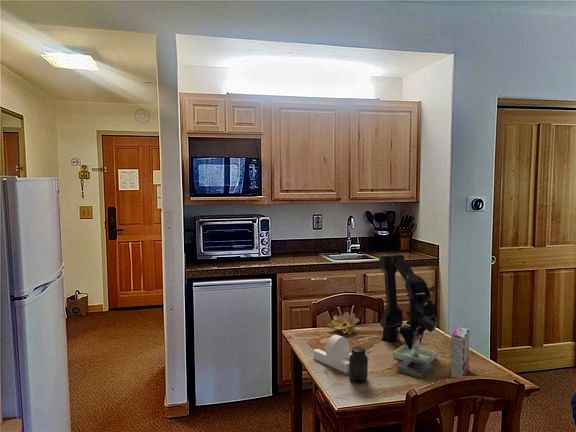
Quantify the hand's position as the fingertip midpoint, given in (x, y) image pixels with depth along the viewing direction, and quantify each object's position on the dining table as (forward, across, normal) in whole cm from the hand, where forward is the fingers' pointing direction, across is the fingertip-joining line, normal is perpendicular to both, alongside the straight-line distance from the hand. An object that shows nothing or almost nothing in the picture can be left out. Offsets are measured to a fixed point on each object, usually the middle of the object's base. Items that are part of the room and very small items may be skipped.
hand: (414, 346), depth 174 cm
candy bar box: (+5, -2, -19) cm, 20 cm away
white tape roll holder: (+6, -24, +22) cm, 33 cm away
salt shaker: (+4, 0, 0) cm, 4 cm away
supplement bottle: (+5, -32, +8) cm, 34 cm away
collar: (+5, -12, -5) cm, 14 cm away
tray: (+5, 0, 0) cm, 5 cm away
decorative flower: (+5, +8, +41) cm, 42 cm away
